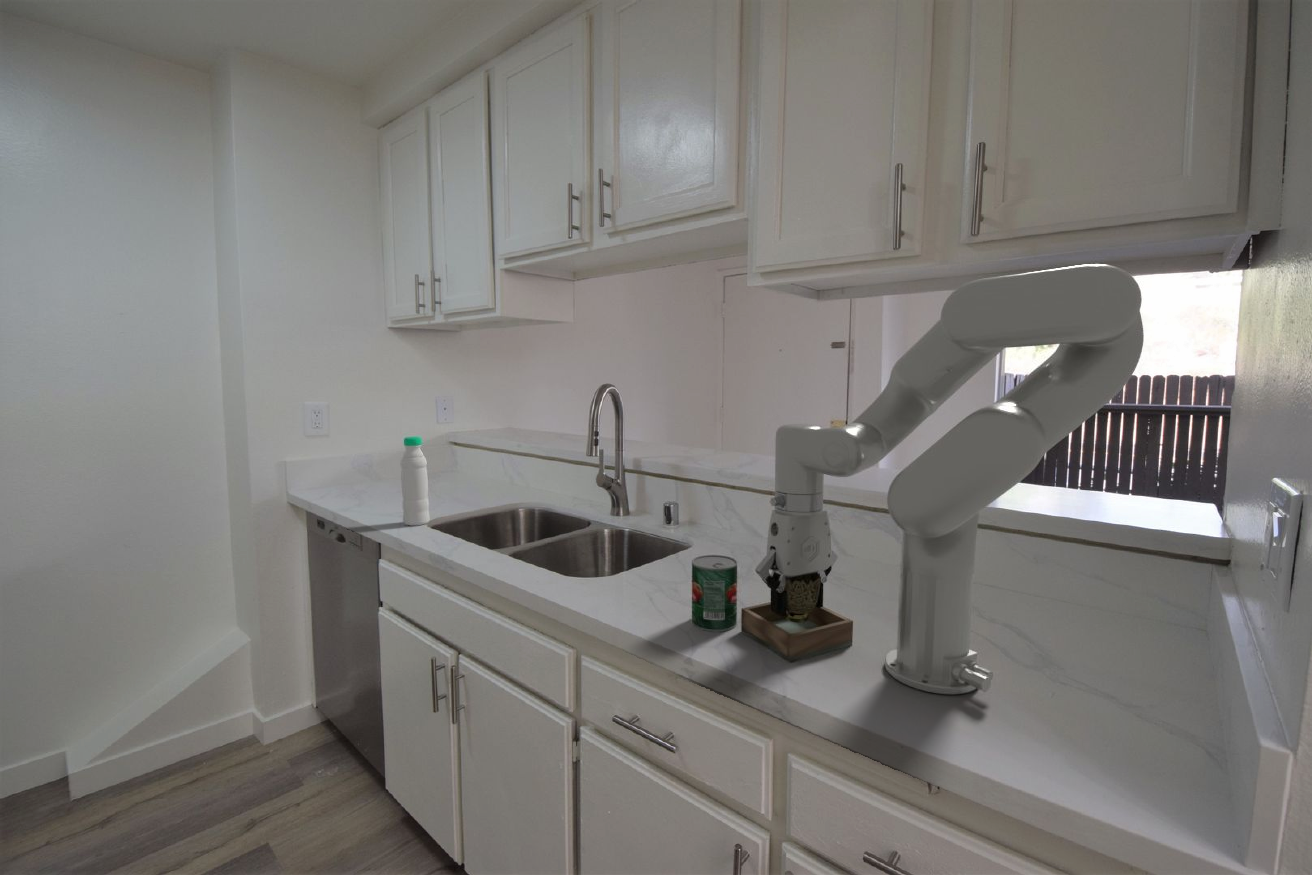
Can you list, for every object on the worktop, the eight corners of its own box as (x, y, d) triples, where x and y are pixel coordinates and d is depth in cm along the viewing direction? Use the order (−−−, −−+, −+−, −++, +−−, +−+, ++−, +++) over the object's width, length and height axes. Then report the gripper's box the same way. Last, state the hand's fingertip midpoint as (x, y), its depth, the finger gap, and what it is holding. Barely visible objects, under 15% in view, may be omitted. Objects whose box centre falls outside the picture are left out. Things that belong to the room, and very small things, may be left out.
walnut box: (852, 645, 99) (853, 620, 99) (790, 662, 93) (790, 636, 93) (799, 617, 110) (800, 595, 110) (741, 631, 104) (741, 608, 104)
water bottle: (423, 519, 184) (419, 435, 181) (433, 523, 179) (429, 437, 176) (399, 523, 179) (395, 437, 177) (409, 527, 174) (404, 439, 171)
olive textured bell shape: (821, 630, 97) (822, 581, 96) (773, 627, 98) (774, 578, 98) (818, 612, 104) (819, 566, 103) (774, 609, 106) (774, 563, 105)
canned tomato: (684, 617, 110) (684, 557, 109) (724, 611, 113) (724, 552, 112) (702, 635, 103) (703, 570, 102) (745, 628, 106) (745, 565, 104)
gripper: (769, 512, 92) (768, 628, 94) (856, 500, 100) (853, 607, 102) (740, 503, 98) (739, 611, 100) (823, 492, 106) (821, 592, 108)
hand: (797, 608), depth 101 cm, fingers closed on olive textured bell shape, 6 cm apart
